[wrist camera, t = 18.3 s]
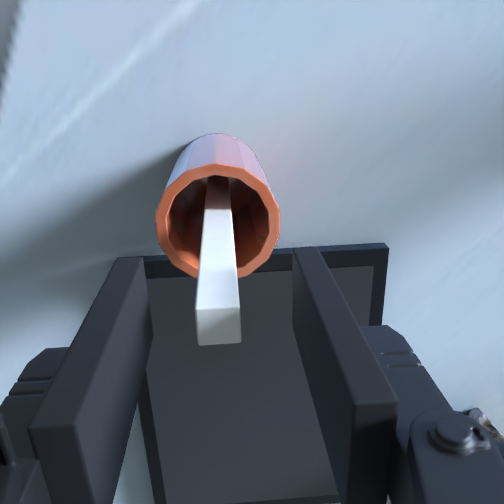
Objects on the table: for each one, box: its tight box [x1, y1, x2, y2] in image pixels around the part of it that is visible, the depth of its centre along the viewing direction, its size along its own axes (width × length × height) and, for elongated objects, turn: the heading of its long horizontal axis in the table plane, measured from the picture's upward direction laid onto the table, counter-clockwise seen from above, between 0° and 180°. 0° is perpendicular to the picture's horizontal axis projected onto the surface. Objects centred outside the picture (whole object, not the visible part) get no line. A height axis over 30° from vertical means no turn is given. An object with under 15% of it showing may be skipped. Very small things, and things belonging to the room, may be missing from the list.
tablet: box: [122, 243, 389, 504], centre depth 34 cm, size 18×24×1 cm
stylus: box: [195, 175, 241, 345], centre depth 19 cm, size 1×1×16 cm
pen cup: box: [155, 134, 280, 279], centre depth 23 cm, size 5×6×9 cm
